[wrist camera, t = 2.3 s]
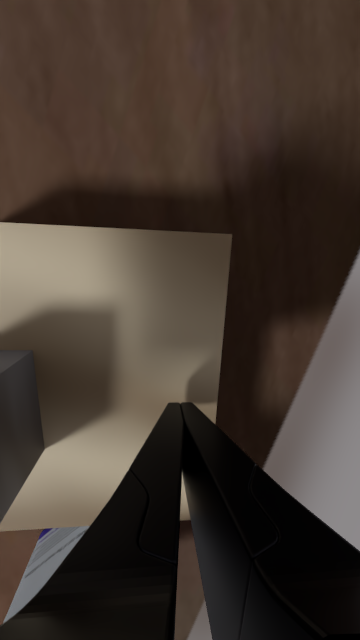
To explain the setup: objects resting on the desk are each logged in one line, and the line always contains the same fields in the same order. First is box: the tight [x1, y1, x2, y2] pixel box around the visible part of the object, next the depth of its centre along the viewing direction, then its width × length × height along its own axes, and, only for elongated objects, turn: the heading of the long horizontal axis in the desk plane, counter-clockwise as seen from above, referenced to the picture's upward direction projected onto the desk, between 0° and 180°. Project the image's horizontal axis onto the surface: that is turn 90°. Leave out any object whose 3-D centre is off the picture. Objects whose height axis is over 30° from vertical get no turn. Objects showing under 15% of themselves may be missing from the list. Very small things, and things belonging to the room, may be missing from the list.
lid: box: [0, 222, 232, 531], centre depth 8 cm, size 12×10×4 cm
